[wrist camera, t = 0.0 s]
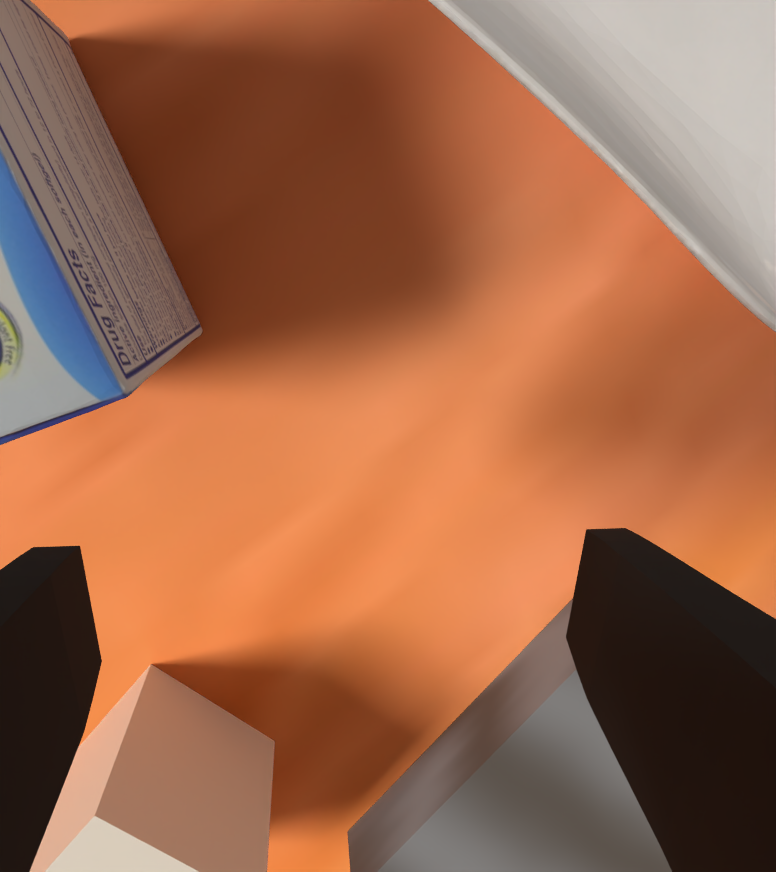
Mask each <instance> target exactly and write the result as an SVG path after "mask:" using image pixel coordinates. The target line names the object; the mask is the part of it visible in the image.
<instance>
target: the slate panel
mask: <svg viewBox="0 0 776 872" xmlns="http://www.w3.org/2000/svg"><path fill="white" fill-rule="evenodd" d="M572 602H573V599H572V600H571V601H570V602H569V603H568V604H567V605H566V606H565V607H564V608H563V609H562V610H561V611H560V612H559V613H558V614H557V615H556V616H555V617H554V618H553V620H552V621H551V622H550V623H549V624H548V625H547V626H546V627H545V628H544V629H543V630H542V631H541V632H540V633H539V634H538V635H537V636H536V637H535V638H534V639H533V640H532V641H531V642H530V643H529V644H528V645H527V646H526V647H525V648H524V649H523V651H522V652H521V653H520V654H519V655H518V656H517V657H516V658H515V659H514V660H513V661H512V662H511V663H510V664H509V665H508V666H507V667H506V668H505V669H504V670H503V671H502V672H501V673H500V674H499V675H498V676H497V677H496V678H495V679H494V681H493V682H492V683H491V684H490V685H489V686H488V687H487V688H486V689H485V690H484V691H483V692H482V693H481V694H480V695H479V696H478V697H477V698H476V699H475V700H474V701H473V702H472V703H471V704H470V705H469V706H468V707H467V708H466V709H465V711H464V712H463V713H462V714H461V715H460V716H459V717H458V718H457V719H456V720H455V721H454V722H453V723H452V724H451V725H450V726H449V727H448V728H447V729H446V730H445V731H444V732H443V733H442V734H441V735H440V736H439V737H438V738H437V739H436V741H435V742H434V743H433V744H432V745H431V746H430V747H429V748H428V749H427V750H426V751H425V752H424V753H423V754H422V755H421V756H420V757H419V758H418V759H417V760H416V761H415V762H414V763H413V764H412V765H411V766H410V767H409V768H408V769H407V771H406V772H405V773H404V774H403V775H402V776H401V777H400V778H399V779H398V780H397V781H396V782H395V783H394V784H393V785H392V786H391V787H390V788H389V789H388V790H387V791H386V792H385V793H384V794H383V795H382V796H381V797H380V798H379V799H378V801H377V802H376V803H375V804H374V805H373V806H372V807H371V808H370V809H369V810H368V811H367V812H366V813H365V814H364V815H363V816H362V817H361V818H360V819H359V820H358V821H357V822H356V823H355V824H354V825H353V826H352V827H351V828H350V829H349V831H348V844H349V858H350V872H672V870H671V868H670V866H669V864H668V862H667V860H666V857H665V855H664V853H663V851H662V849H661V847H660V845H659V843H658V841H657V839H656V837H655V835H654V833H653V831H652V829H651V827H650V825H649V823H648V821H647V819H646V817H645V815H644V813H643V811H642V809H641V807H640V805H639V803H638V801H637V799H636V797H635V795H634V793H633V791H632V789H631V787H630V785H629V783H628V781H627V779H626V777H625V775H624V773H623V771H622V769H621V767H620V765H619V763H618V761H617V759H616V757H615V755H614V753H613V751H612V749H611V747H610V745H609V743H608V741H607V739H606V737H605V735H604V733H603V731H602V729H601V727H600V725H599V723H598V721H597V719H596V717H595V715H594V713H593V710H592V708H591V706H590V704H589V702H588V700H587V697H586V695H585V692H584V689H583V686H582V684H581V681H580V678H579V675H578V673H577V670H576V667H575V664H574V661H573V658H572V655H571V652H570V648H569V645H568V642H567V639H566V633H567V628H568V623H569V618H570V612H571V607H572Z"/></svg>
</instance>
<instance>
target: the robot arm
mask: <svg viewBox="0 0 776 872" xmlns="http://www.w3.org/2000/svg"><path fill="white" fill-rule="evenodd" d="M566 639H567V642H568V645H569V648H570V652H571V655H572V658H573V661H574V664H575V667H576V670H577V673H578V675H579V678H580V681H581V684H582V686H583V689H584V692H585V695H586V697H587V700H588V702H589V704H590V706H591V708H592V710H593V713H594V715H595V717H596V719H597V721H598V723H599V725H600V727H601V729H602V731H603V733H604V735H605V737H606V739H607V741H608V743H609V745H610V747H611V749H612V751H613V753H614V755H615V757H616V759H617V761H618V763H619V765H620V767H621V769H622V771H623V773H624V775H625V777H626V779H627V781H628V783H629V785H630V787H631V789H632V791H633V793H634V795H635V797H636V799H637V801H638V803H639V805H640V807H641V809H642V811H643V813H644V815H645V817H646V819H647V821H648V823H649V825H650V827H651V829H652V831H653V833H654V835H655V837H656V839H657V841H658V843H659V845H660V847H661V849H662V851H663V853H664V855H665V857H666V860H667V862H668V864H669V866H670V868H671V870H672V872H776V619H775V618H773V617H771V616H770V615H768V614H766V613H765V612H763V611H761V610H760V609H758V608H756V607H755V606H753V605H751V604H750V603H748V602H747V601H745V600H743V599H742V598H740V597H738V596H737V595H735V594H734V593H732V592H730V591H729V590H727V589H725V588H724V587H722V586H721V585H719V584H718V583H716V582H714V581H713V580H711V579H710V578H708V577H706V576H705V575H703V574H702V573H700V572H698V571H697V570H695V569H694V568H692V567H690V566H689V565H687V564H686V563H684V562H682V561H681V560H679V559H678V558H676V557H675V556H673V555H671V554H670V553H668V552H666V551H665V550H663V549H662V548H660V547H658V546H657V545H655V544H653V543H652V542H650V541H648V540H646V539H645V538H643V537H641V536H639V535H638V534H636V533H634V532H632V531H630V530H628V529H626V528H617V529H586V534H585V539H584V544H583V550H582V555H581V560H580V565H579V571H578V576H577V581H576V586H575V591H574V597H573V602H572V607H571V612H570V618H569V623H568V628H567V633H566ZM101 662H102V660H101V655H100V650H99V644H98V639H97V634H96V628H95V623H94V618H93V613H92V607H91V602H90V597H89V591H88V586H87V581H86V576H85V570H84V565H83V560H82V554H81V549H80V546H60V547H33V548H31V549H30V550H28V551H27V552H25V553H24V554H22V555H21V556H19V557H18V558H16V559H15V560H13V561H12V562H11V563H9V564H8V565H7V566H5V567H4V568H2V569H1V570H0V872H30V869H31V867H32V864H33V862H34V859H35V857H36V854H37V851H38V849H39V846H40V844H41V841H42V839H43V836H44V834H45V831H46V829H47V826H48V824H49V821H50V819H51V816H52V813H53V811H54V808H55V806H56V803H57V801H58V798H59V796H60V793H61V791H62V788H63V785H64V783H65V780H66V778H67V775H68V772H69V770H70V767H71V765H72V762H73V759H74V757H75V754H76V752H77V749H78V746H79V744H80V741H81V738H82V736H83V733H84V730H85V726H86V722H87V719H88V715H89V711H90V707H91V704H92V700H93V696H94V691H95V687H96V683H97V679H98V675H99V670H100V666H101Z"/></svg>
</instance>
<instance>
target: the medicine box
mask: <svg viewBox="0 0 776 872" xmlns="http://www.w3.org/2000/svg"><path fill="white" fill-rule="evenodd" d="M202 332H203V330H202V328H201V325H200V323H199V321H198V318H197V316H196V314H195V312H194V310H193V308H192V306H191V304H190V301H189V299H188V297H187V295H186V293H185V291H184V289H183V287H182V284H181V282H180V280H179V278H178V276H177V274H176V272H175V270H174V267H173V265H172V263H171V261H170V259H169V257H168V255H167V252H166V250H165V248H164V246H163V244H162V242H161V239H160V237H159V235H158V233H157V231H156V229H155V227H154V224H153V222H152V220H151V218H150V216H149V214H148V212H147V209H146V207H145V205H144V203H143V201H142V199H141V197H140V195H139V192H138V190H137V188H136V186H135V184H134V182H133V180H132V178H131V175H130V173H129V171H128V169H127V167H126V165H125V163H124V161H123V158H122V156H121V154H120V152H119V150H118V148H117V146H116V144H115V142H114V139H113V137H112V135H111V133H110V131H109V129H108V127H107V124H106V122H105V120H104V118H103V116H102V114H101V112H100V110H99V107H98V105H97V103H96V101H95V99H94V97H93V95H92V92H91V90H90V88H89V86H88V84H87V82H86V79H85V77H84V75H83V73H82V71H81V69H80V66H79V64H78V62H77V60H76V58H75V56H74V53H73V51H72V48H71V45H70V42H69V39H68V37H67V36H66V35H65V34H64V33H63V31H62V30H61V29H60V28H58V27H57V26H56V25H55V24H54V23H53V22H52V21H51V20H50V19H49V18H48V17H47V16H46V15H45V14H44V13H43V12H42V11H41V10H40V9H39V8H38V7H37V6H36V5H35V4H33V3H32V2H31V1H30V0H0V445H1V444H4V443H7V442H9V441H12V440H15V439H17V438H20V437H23V436H25V435H28V434H31V433H34V432H36V431H39V430H42V429H44V428H47V427H50V426H53V425H55V424H58V423H61V422H63V421H66V420H68V419H71V418H74V417H76V416H79V415H82V414H85V413H88V412H91V411H93V410H96V409H98V408H100V407H103V406H105V405H108V404H110V403H113V402H115V401H118V400H121V399H124V398H126V397H128V396H129V395H130V394H132V393H133V391H134V390H136V389H137V388H138V387H139V386H140V385H141V384H142V383H143V382H144V381H145V380H146V379H147V378H148V377H150V376H151V375H152V374H153V373H155V372H156V371H157V370H158V369H160V368H161V367H162V366H163V365H164V364H166V363H167V362H168V361H169V360H171V359H172V358H173V357H174V356H176V355H177V354H178V353H179V352H180V351H181V350H182V349H183V348H184V347H186V346H187V345H188V344H189V343H190V342H192V341H193V340H194V339H196V338H197V337H199V336H200V335H201V334H202Z"/></svg>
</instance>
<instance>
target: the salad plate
mask: <svg viewBox="0 0 776 872" xmlns="http://www.w3.org/2000/svg"><path fill="white" fill-rule="evenodd" d="M428 1H429V2H431V3H432V4H433V5H434V6H435V7H436V8H437V9H439V10H440V11H441V12H442V13H443V14H444V15H445V16H446V17H448V18H449V19H450V20H451V21H452V22H453V23H454V24H455V25H457V26H458V27H459V28H460V29H461V30H462V31H463V32H464V33H466V34H467V35H468V36H469V37H470V38H471V39H472V40H474V41H475V42H476V43H477V44H478V45H479V46H480V47H481V48H483V49H484V50H485V51H486V52H487V53H488V54H489V55H490V56H491V57H492V58H493V59H495V60H496V61H497V62H498V63H499V64H500V65H501V66H502V67H503V68H504V69H505V70H506V71H508V72H509V73H510V74H511V75H512V76H513V77H514V78H515V79H516V80H517V81H518V82H519V83H521V84H522V85H523V86H524V87H525V88H526V89H527V90H528V91H529V92H530V93H531V94H533V95H534V96H535V97H536V98H537V99H538V100H539V101H540V102H541V103H542V104H543V105H544V106H546V107H547V108H548V109H549V110H550V111H551V112H552V113H553V114H554V115H555V116H556V117H557V118H559V119H560V120H561V121H562V122H563V123H564V124H565V125H566V126H567V127H568V128H569V129H570V130H571V131H572V132H573V133H574V134H575V135H576V136H578V137H579V138H580V139H581V140H582V141H583V142H584V143H585V144H586V145H587V146H588V147H589V148H590V149H591V150H592V151H593V152H594V153H595V154H596V155H597V156H598V157H599V158H601V159H602V160H603V161H604V162H605V163H606V164H607V165H608V166H609V167H610V168H611V169H612V170H613V171H614V172H615V173H616V174H617V175H618V176H619V177H620V178H621V179H622V180H623V181H624V182H625V183H626V184H627V185H628V186H629V187H630V189H631V190H632V191H633V192H634V193H635V194H636V195H637V196H638V197H639V198H640V199H641V200H642V201H643V202H644V203H645V204H646V205H647V206H648V207H649V208H650V209H651V210H652V211H653V212H654V214H655V215H656V216H657V217H658V218H659V219H660V220H661V221H662V222H663V223H664V224H665V225H666V226H667V228H668V229H669V230H670V231H671V232H672V233H673V234H674V235H675V236H676V237H677V238H678V239H679V240H680V242H681V243H682V244H683V245H684V246H685V247H686V248H687V249H688V250H689V251H690V252H691V253H692V254H693V255H694V256H695V257H696V258H697V259H698V260H699V262H700V263H701V264H702V265H703V266H704V267H705V268H706V269H707V270H708V271H709V272H710V273H711V274H712V275H713V276H714V277H715V278H716V279H717V280H718V281H719V282H720V283H721V284H722V285H723V286H724V287H725V288H726V289H727V290H728V291H729V292H730V293H731V294H732V295H733V296H734V297H735V298H736V299H737V300H738V301H739V302H741V303H742V304H743V305H744V306H745V307H746V308H747V309H748V310H749V311H751V312H752V313H753V314H754V315H755V316H756V317H757V318H758V319H759V320H761V321H762V322H763V323H765V324H766V325H767V326H768V327H770V328H771V329H772V330H774V331H775V332H776V0H428Z"/></svg>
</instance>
